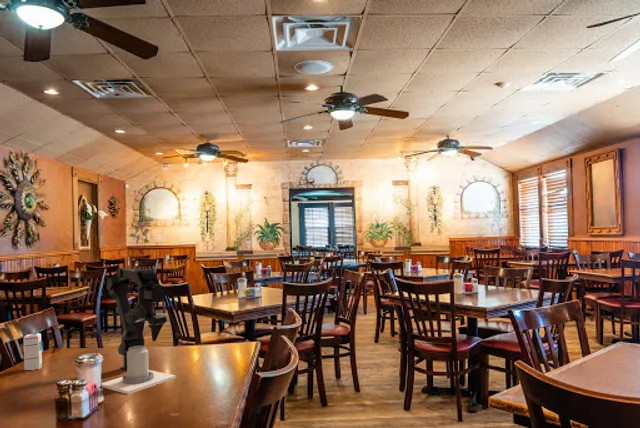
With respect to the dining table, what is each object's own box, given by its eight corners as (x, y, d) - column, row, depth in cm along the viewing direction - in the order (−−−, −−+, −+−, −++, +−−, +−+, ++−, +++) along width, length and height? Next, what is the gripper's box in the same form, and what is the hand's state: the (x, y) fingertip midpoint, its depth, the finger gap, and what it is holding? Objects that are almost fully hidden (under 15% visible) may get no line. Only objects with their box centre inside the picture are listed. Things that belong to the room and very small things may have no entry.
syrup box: (40, 369, 201) (39, 335, 202) (23, 371, 199) (23, 336, 199) (42, 366, 206) (41, 332, 207) (26, 368, 204) (26, 334, 205)
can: (141, 382, 172) (140, 349, 173) (123, 382, 174) (122, 349, 174) (152, 376, 180) (151, 344, 180) (134, 376, 181) (134, 344, 182)
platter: (99, 386, 173) (99, 379, 174) (147, 372, 190) (146, 365, 190) (128, 394, 163) (128, 386, 163) (176, 378, 180) (175, 371, 180)
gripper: (113, 302, 188) (114, 342, 187) (142, 305, 177) (143, 347, 176) (138, 298, 197) (139, 336, 196) (167, 300, 186) (168, 340, 186)
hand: (146, 340), depth 188 cm, fingers open, 9 cm apart
